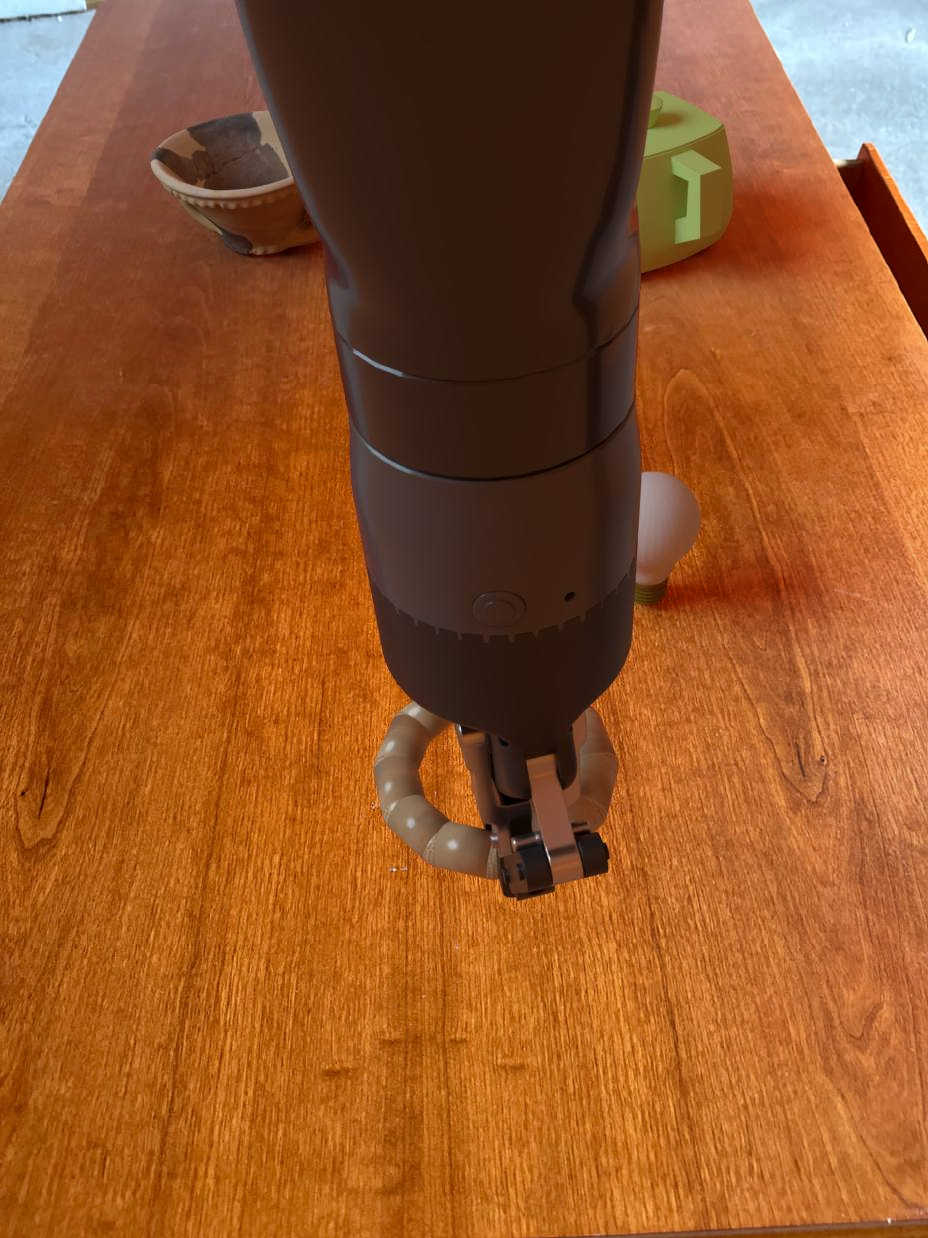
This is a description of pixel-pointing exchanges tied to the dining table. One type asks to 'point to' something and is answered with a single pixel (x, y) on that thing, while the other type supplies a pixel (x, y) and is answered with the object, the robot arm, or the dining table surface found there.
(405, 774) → the beige segmented ring
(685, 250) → the teapot
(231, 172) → the bowl
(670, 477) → the light bulb
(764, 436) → the dining table surface
